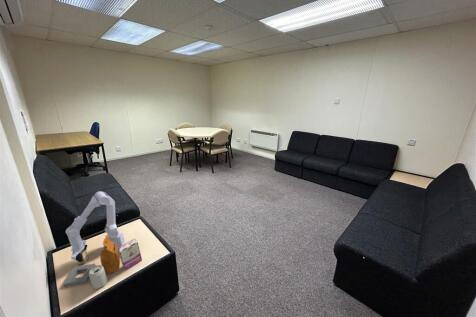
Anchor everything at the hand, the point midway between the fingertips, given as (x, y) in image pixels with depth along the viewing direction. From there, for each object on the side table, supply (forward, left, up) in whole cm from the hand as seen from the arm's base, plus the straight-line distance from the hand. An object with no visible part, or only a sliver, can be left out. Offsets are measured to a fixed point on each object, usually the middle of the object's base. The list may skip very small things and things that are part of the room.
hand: (82, 258), depth 135 cm
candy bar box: (-33, +8, -3) cm, 34 cm away
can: (-18, +20, -3) cm, 27 cm away
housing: (-4, +12, -3) cm, 13 cm away
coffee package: (-21, +8, -3) cm, 23 cm away
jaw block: (0, 0, -2) cm, 2 cm away
